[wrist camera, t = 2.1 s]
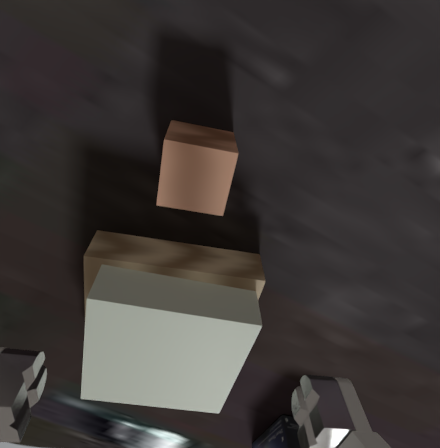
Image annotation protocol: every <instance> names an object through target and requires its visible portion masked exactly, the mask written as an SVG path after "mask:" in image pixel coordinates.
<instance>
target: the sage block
mask: <svg viewBox="0 0 440 448" xmlns="http://www.w3.org/2000/svg"><path fill="white" fill-rule="evenodd" d="M261 328H262V321H261V316H260V310H259V305H258V299H257V293H256V291H251V290H246V289H240V288H234V287H229V286H223V285H217V284H211V283H206V282H200V281H194V280H189V279H183V278H177V277H172V276H166V275H160V274H154V273H149V272H143V271H137V270H132V269H126V268H120V267H114V266H109V265H103V264H102V265H101V267H100V270H99V272H98V274H97V276H96V279H95V281H94V283H93V285H92V288H91V290H90V292H89V294H88V297H87V302H86V318H85V335H84V352H83V369H82V386H81V399H88V400H97V401H107V402H116V403H125V404H135V405H144V406H153V407H163V408H172V409H181V410H191V411H200V412H210V413H220V411H221V409H222V406H223V404H224V402H225V400H226V398H227V396H228V394H229V392H230V390H231V388H232V386H233V384H234V382H235V380H236V378H237V376H238V374H239V372H240V370H241V368H242V366H243V364H244V362H245V360H246V358H247V356H248V354H249V352H250V350H251V348H252V346H253V344H254V342H255V340H256V338H257V336H258V334H259V332H260V330H261Z"/></svg>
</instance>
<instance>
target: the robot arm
mask: <svg viewBox="0 0 440 448" xmlns="http://www.w3.org/2000/svg"><path fill="white" fill-rule="evenodd" d="M44 360H45V356H44V352H42V351H31V350H21V349H10V348H3V347H0V442H20V441H21V439H22V437H23V435H24V432H25V430H26V428H27V426H28V424H29V421H30V419H31V412H30V407H32V406H33V405H34V404H35V403H37V402H38V401H39V399H40V396H41V394H42V392H43V389H44V385H45V382H46V375H47V371H46V367H45V366H44V365H42V364H43V362H44ZM300 383H301V386H299V387H297V388H295V390H294V392H293V394H292V402H291V404H292V413H293V417H294V419H295V421H296V422H297V423H298V424H299V426H300V427H299V430H298V432H297V435H298V440H299V444H300V448H391V447H390V446H389V445H388V444H387V443H386V442H385V441H384V440H383V439H382V438H381V437H380V436H379V434H378V433H377V432H372V430H371V428H370V425H369V423H368V420H367V418H366V416H365V413H364V411H363V408H362V406H361V404H360V401H359V399H358V397H357V394H356V392H355V389H354V387H353V385H352V382H351V381H350V380H349V379H346V378H336V377H328V376H313V375H304V376H302V378H301V380H300Z"/></svg>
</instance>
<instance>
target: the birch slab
mask: <svg viewBox="0 0 440 448" xmlns="http://www.w3.org/2000/svg"><path fill="white" fill-rule="evenodd" d="M102 264H103V265H109V266H114V267H120V268H126V269H132V270H137V271H143V272H149V273H154V274H160V275H166V276H172V277H177V278H183V279H189V280H194V281H200V282H206V283H211V284H217V285H223V286H229V287H234V288H240V289H246V290H251V291H256V293H257V299H258V300H259V297H260V294H261V292H262V289H263V286H264V284H265V276H264V272H263V267H262V263H261V258H260V254H255V253H248V252H241V251H234V250H228V249H221V248H214V247H207V246H201V245H194V244H187V243H180V242H174V241H167V240H160V239H153V238H147V237H140V236H133V235H126V234H120V233H113V232H106V231H99V230H97V232H96V234H95V235H94V237H93V239H92V241H91V243H90V245H89V247H88V248H87V250H86V252H85V254H84V298H85V318H86V302H87V297H88V294H89V292H90V290H91V288H92V285H93V283H94V281H95V279H96V276H97V274H98V272H99V270H100V267H101V265H102Z"/></svg>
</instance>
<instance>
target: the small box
mask: <svg viewBox="0 0 440 448" xmlns="http://www.w3.org/2000/svg"><path fill="white" fill-rule="evenodd" d="M299 427H300V426H299V424H298V423H297V422H296V421H295V419H294V417H290V416H286V415H282V416H280V417H279V418H278V419H277V420H276V421H275V422H274V423H273V424H272V425H271V426H270V427H269V428H268V429H267V430H266V431H265V432H264V433H263V434H262V435H261V436H260V437H258V438H257V439H256V440H255V441H254V442H253V443H252V448H300V444H299V440H298V435H297V432H298V430H299Z"/></svg>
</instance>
